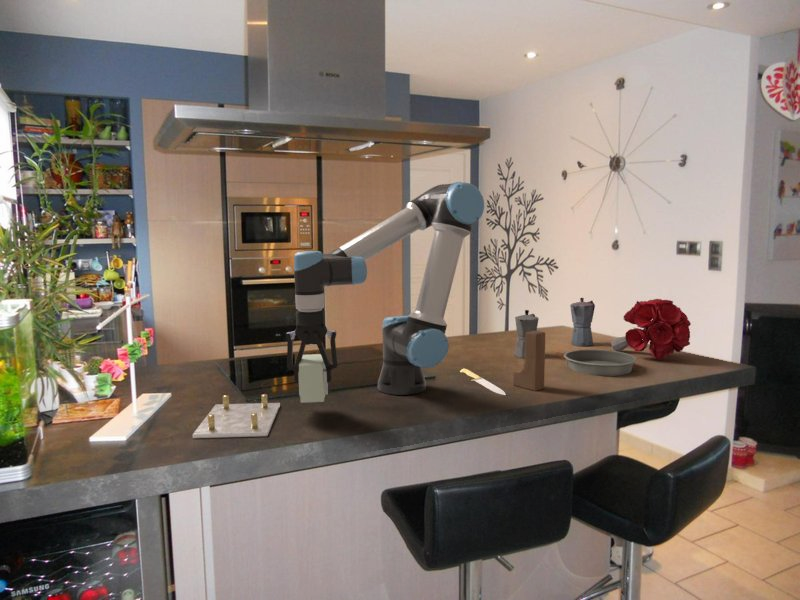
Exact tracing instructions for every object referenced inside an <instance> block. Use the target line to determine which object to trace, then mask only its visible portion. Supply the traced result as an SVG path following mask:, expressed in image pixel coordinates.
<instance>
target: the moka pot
mask: <svg viewBox="0 0 800 600" xmlns="http://www.w3.org/2000/svg"><path fill="white" fill-rule="evenodd" d="M579 299H580V301H579V302H572V303H571V304H570V306H569V307H570V312H571V320H572V325H573V329H572V337H571V345H572V346H576V347H591V346H594V338H593V334H592V333H593V332H592V327H591V326H592V323H593V319H594V318H593V317H594V313H595V308H596V305H595V302H594V301H593V300H592V299H591V300H589V301H584V299H585V298H584V297H580V298H579Z"/></svg>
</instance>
